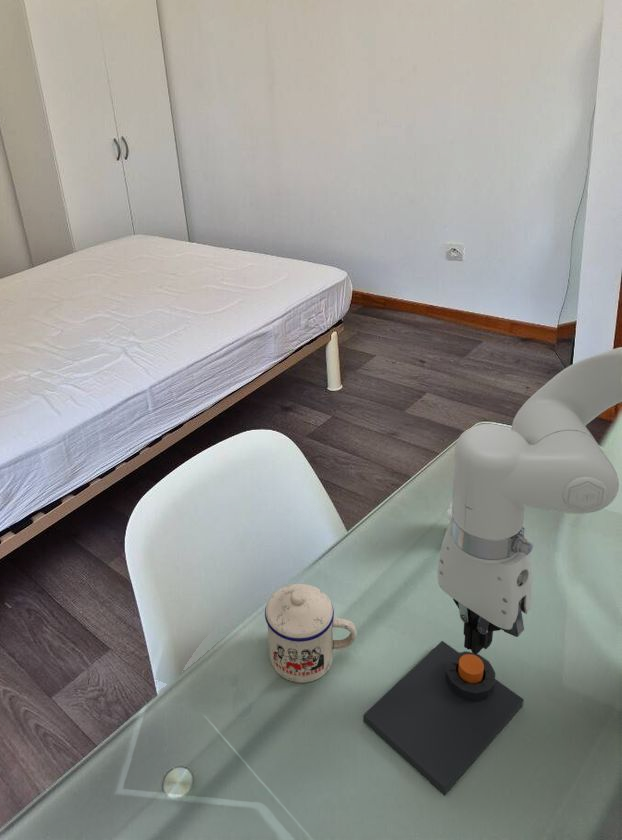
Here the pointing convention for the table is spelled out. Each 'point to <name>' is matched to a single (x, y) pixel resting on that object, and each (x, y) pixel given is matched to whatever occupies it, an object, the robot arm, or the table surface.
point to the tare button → (471, 668)
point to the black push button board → (442, 716)
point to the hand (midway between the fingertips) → (477, 644)
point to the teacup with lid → (303, 632)
